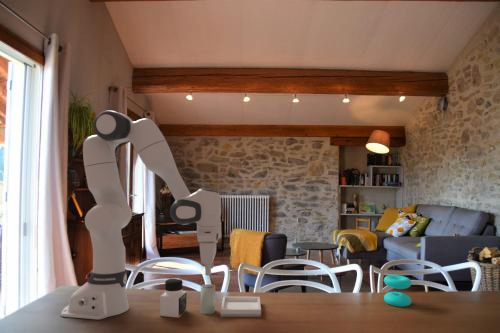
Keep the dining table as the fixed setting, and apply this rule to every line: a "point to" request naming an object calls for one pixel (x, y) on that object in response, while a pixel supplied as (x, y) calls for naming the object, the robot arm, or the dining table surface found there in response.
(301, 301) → the dining table surface
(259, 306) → the grey tray
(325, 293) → the dining table surface
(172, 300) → the medicine bottle
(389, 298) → the donuts
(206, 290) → the sage cup
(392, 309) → the dining table surface
